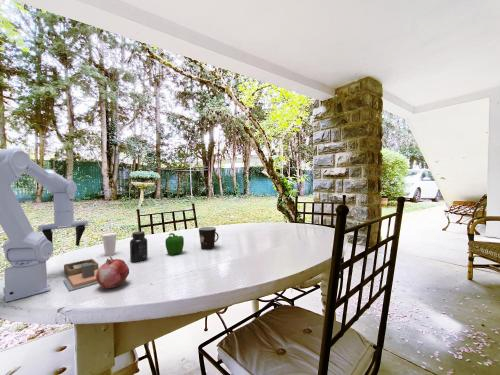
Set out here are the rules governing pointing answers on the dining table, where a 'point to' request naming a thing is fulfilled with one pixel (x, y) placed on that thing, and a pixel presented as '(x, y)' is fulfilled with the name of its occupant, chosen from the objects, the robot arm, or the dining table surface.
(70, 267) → the box
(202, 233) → the coffee mug
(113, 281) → the fruit
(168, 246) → the bell pepper
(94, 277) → the lid
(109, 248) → the smoothie
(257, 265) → the dining table surface
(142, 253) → the supplement bottle
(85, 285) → the mat
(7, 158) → the robot arm
